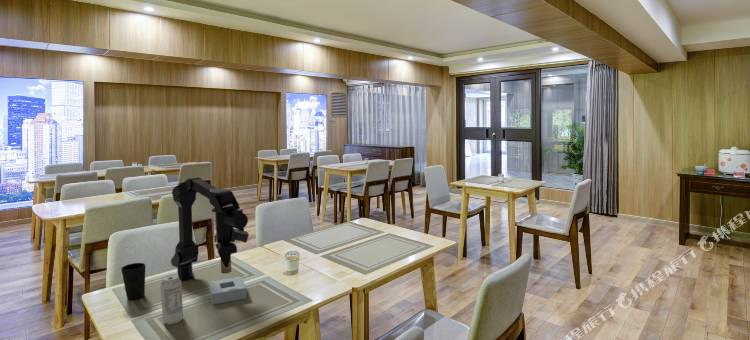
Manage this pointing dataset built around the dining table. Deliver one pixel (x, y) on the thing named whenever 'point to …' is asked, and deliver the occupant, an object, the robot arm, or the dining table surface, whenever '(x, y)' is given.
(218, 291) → the socket
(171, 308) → the energy drink can
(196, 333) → the dining table surface
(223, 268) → the dowel
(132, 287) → the cup
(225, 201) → the robot arm
